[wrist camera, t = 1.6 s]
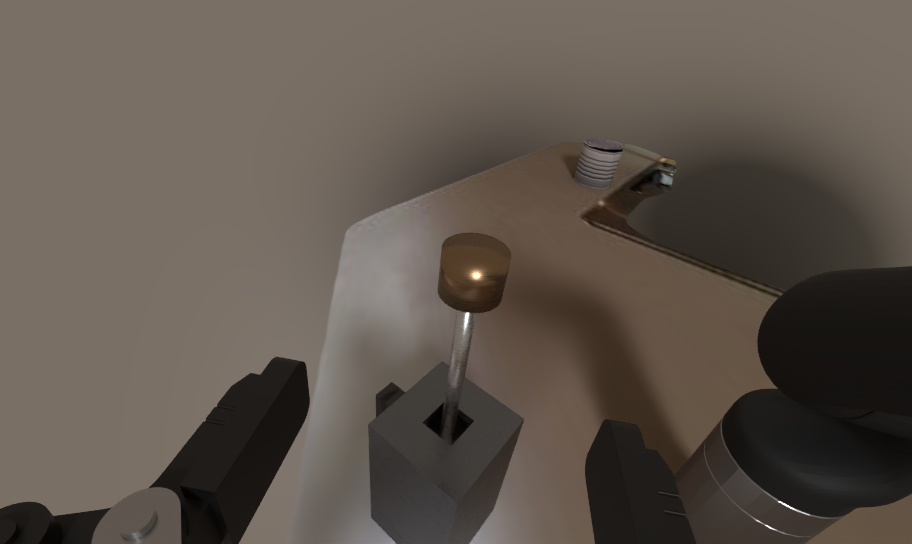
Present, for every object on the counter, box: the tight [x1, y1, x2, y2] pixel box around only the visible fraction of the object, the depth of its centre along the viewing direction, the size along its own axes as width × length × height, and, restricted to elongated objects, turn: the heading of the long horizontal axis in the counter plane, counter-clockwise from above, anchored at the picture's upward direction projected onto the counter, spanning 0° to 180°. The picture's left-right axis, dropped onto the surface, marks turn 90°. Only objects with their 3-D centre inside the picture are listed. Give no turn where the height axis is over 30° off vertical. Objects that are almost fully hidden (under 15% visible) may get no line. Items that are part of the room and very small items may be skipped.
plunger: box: [426, 233, 511, 446], centre depth 29 cm, size 7×7×20 cm
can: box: [573, 139, 626, 190], centre depth 119 cm, size 11×11×12 cm
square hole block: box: [368, 362, 524, 544], centre depth 38 cm, size 12×9×16 cm
